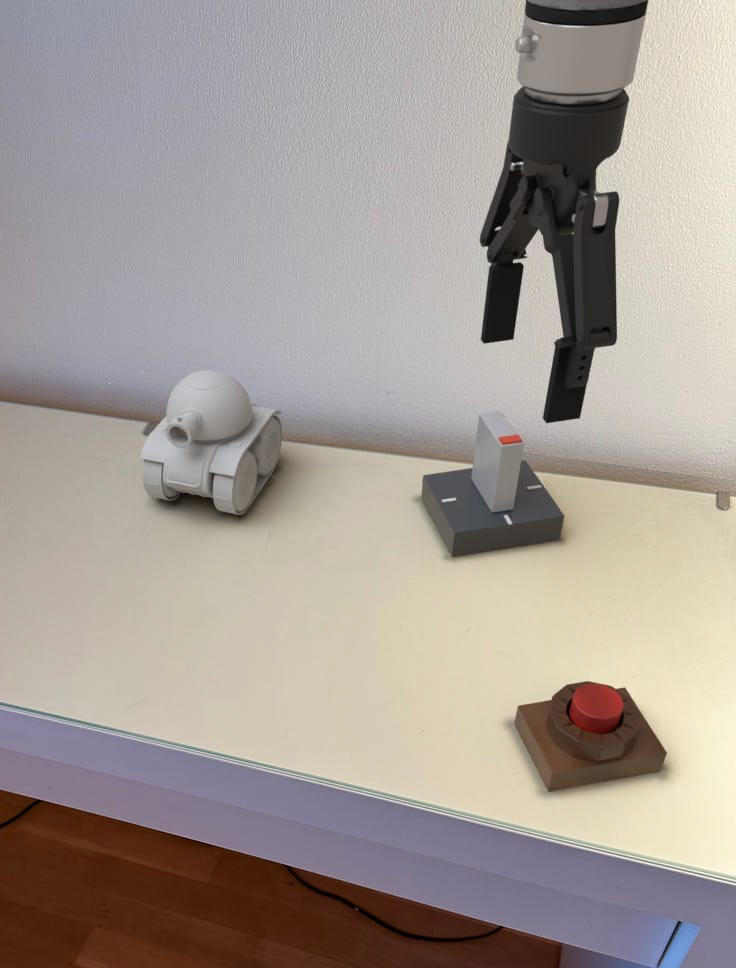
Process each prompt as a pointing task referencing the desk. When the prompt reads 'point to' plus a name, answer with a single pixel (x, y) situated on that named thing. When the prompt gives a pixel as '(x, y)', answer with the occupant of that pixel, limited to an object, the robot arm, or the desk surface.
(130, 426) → the desk surface
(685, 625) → the desk surface
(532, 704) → the button block
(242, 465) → the toy tank
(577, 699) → the button
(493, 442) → the grey rectangular block
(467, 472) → the plate
